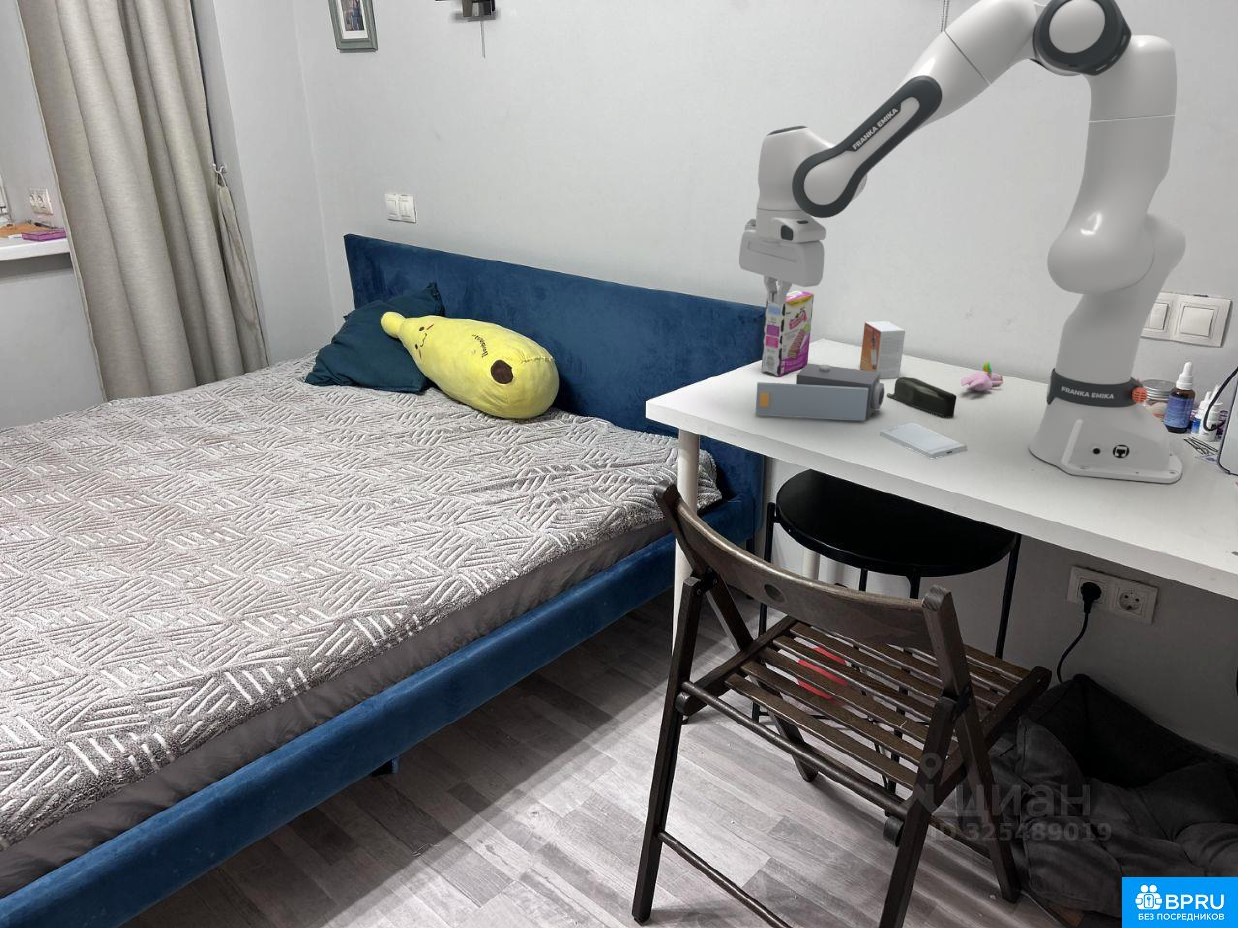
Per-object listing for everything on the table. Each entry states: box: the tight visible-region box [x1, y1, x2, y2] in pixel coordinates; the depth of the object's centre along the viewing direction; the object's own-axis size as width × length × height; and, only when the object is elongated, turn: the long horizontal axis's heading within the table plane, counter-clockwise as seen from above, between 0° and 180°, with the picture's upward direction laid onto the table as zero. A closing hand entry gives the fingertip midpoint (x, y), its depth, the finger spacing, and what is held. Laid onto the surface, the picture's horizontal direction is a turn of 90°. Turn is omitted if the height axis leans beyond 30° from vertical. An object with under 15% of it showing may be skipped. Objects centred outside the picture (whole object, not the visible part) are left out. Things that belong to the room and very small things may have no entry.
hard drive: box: [879, 422, 968, 459], centre depth 157 cm, size 2×8×12 cm
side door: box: [755, 381, 868, 421], centre depth 167 cm, size 20×2×6 cm, turn 79°
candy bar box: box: [760, 290, 815, 378], centre depth 193 cm, size 11×5×16 cm, turn 136°
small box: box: [859, 320, 906, 380], centre depth 192 cm, size 8×6×10 cm
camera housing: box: [795, 362, 885, 421], centre depth 172 cm, size 16×8×8 cm, turn 64°
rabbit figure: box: [960, 361, 1004, 392], centre depth 182 cm, size 6×6×15 cm
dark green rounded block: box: [886, 376, 957, 418], centre depth 173 cm, size 5×3×15 cm
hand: (776, 302), depth 164 cm, fingers closed
